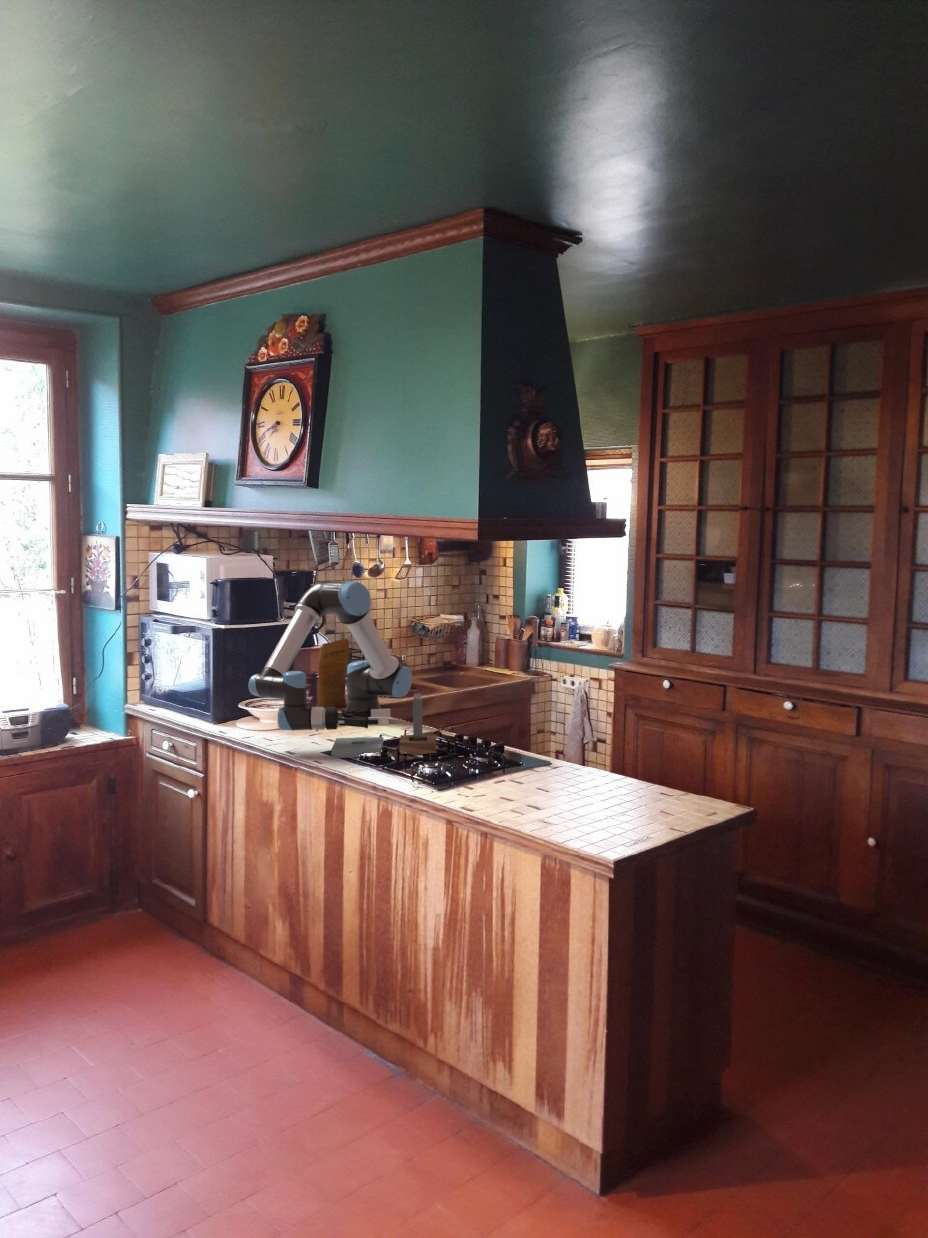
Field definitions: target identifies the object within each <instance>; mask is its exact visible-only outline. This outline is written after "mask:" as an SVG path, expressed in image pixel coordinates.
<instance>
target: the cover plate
mask: <svg viewBox="0 0 928 1238" xmlns="http://www.w3.org/2000/svg"><path fill="white" fill-rule="evenodd" d="M384 741H385V740H384V736H382V737H381V736H379V737H378V736H375V737H374V736H373V737H369V736H367V737H366V736H365V737H337V738H335V741H334V743H333V744H332V747H331V758H332V759H337V758H338V759H339V758H340V759H342V758H345V759H346V758H347V759H348V758H350V759H351V758H359V757H358V756H359V755H361V754H364V753H371V752H381V750H382V747H383V748H384V746H383V742H384Z"/></svg>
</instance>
